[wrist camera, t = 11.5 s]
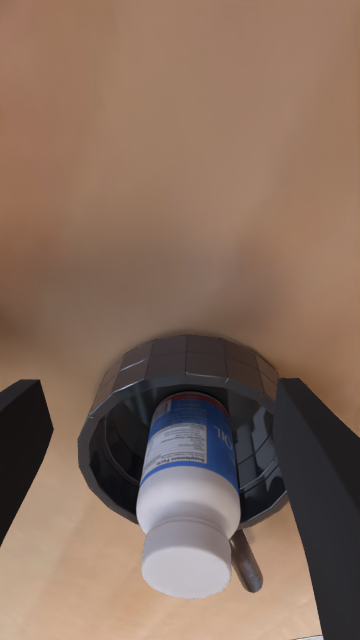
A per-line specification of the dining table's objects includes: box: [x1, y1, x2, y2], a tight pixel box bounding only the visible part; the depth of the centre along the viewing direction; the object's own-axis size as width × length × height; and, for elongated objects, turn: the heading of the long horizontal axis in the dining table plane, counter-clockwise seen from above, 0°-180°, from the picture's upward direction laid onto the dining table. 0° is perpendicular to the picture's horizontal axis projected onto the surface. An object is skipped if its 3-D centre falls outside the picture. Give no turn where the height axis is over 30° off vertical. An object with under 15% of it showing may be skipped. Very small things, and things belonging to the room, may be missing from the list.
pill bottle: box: [136, 392, 240, 599], centre depth 19 cm, size 6×5×10 cm
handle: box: [229, 529, 263, 593], centre depth 26 cm, size 10×2×2 cm, turn 20°
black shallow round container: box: [78, 334, 289, 531], centre depth 22 cm, size 13×13×4 cm
